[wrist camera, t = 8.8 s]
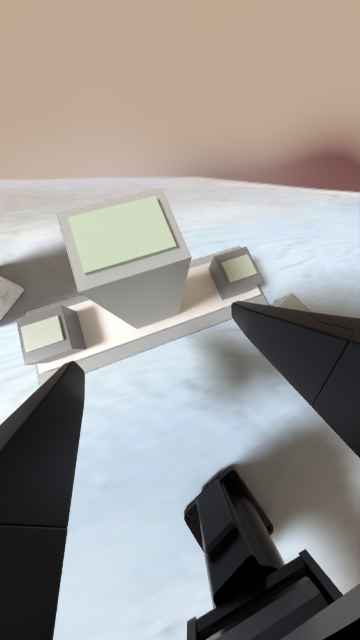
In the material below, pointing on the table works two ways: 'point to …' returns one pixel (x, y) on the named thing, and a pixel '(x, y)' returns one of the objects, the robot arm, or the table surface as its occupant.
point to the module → (128, 256)
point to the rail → (124, 340)
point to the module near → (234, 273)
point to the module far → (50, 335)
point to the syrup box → (8, 295)
